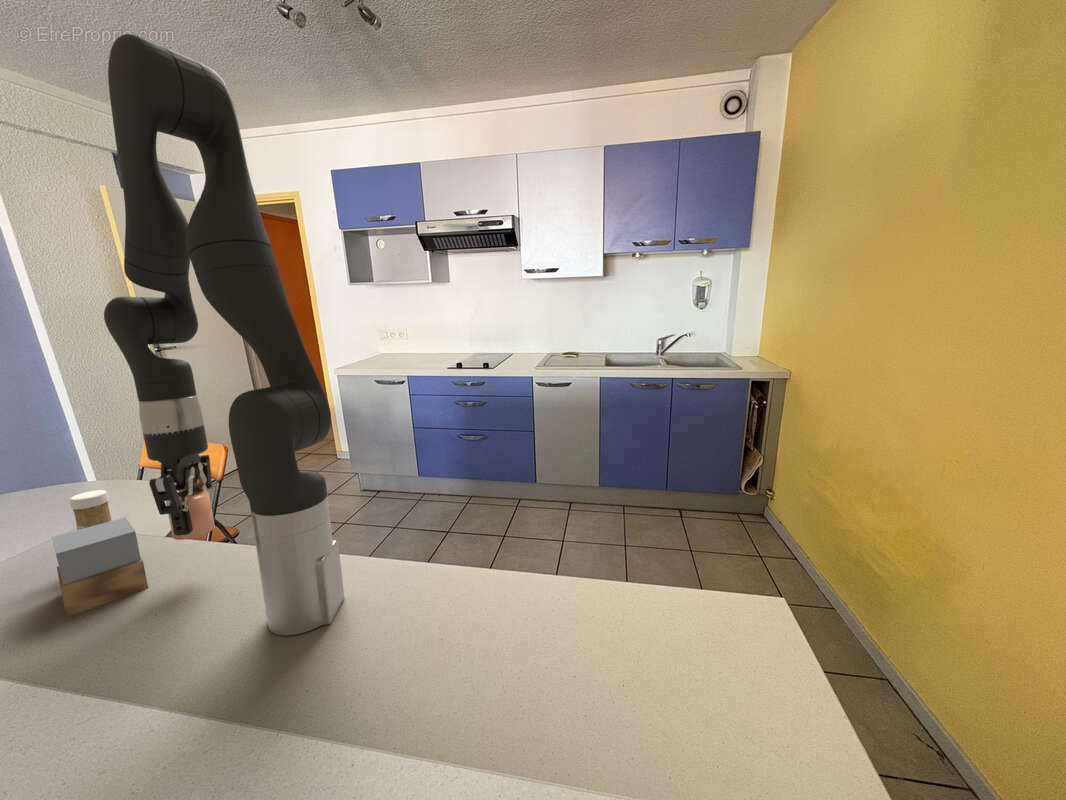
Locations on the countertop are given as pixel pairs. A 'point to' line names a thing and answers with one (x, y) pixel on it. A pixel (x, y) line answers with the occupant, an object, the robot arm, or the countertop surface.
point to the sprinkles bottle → (90, 508)
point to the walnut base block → (102, 587)
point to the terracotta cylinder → (198, 515)
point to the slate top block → (95, 550)
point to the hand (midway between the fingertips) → (193, 525)
